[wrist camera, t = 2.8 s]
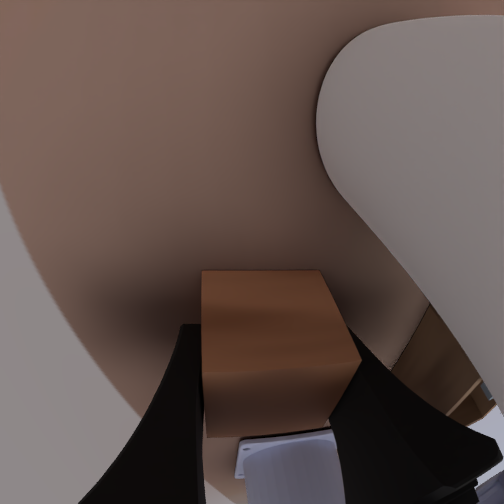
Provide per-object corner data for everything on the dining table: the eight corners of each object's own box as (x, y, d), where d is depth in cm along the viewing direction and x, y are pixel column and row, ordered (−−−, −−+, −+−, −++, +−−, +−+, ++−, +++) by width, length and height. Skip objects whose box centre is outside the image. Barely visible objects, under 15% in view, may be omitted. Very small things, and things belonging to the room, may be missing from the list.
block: (298, 345, 13) (322, 427, 9) (203, 349, 12) (206, 437, 9) (319, 270, 11) (361, 360, 7) (201, 270, 10) (202, 372, 7)
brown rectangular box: (456, 371, 18) (482, 418, 14) (375, 394, 17) (400, 455, 13) (552, 191, 10) (608, 234, 6) (484, 165, 9) (570, 222, 5)
